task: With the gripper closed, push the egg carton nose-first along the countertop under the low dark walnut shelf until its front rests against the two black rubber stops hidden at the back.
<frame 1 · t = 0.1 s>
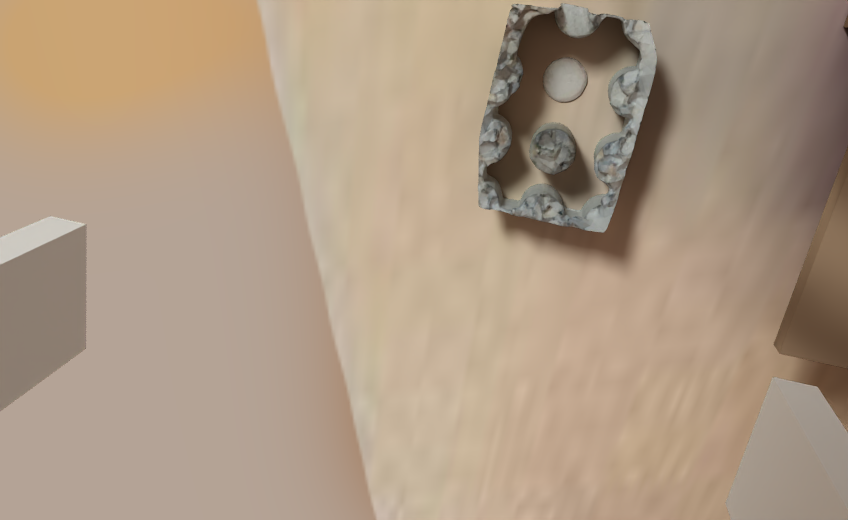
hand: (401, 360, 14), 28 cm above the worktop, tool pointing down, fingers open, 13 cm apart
egg carton: (562, 111, 40), on the worktop
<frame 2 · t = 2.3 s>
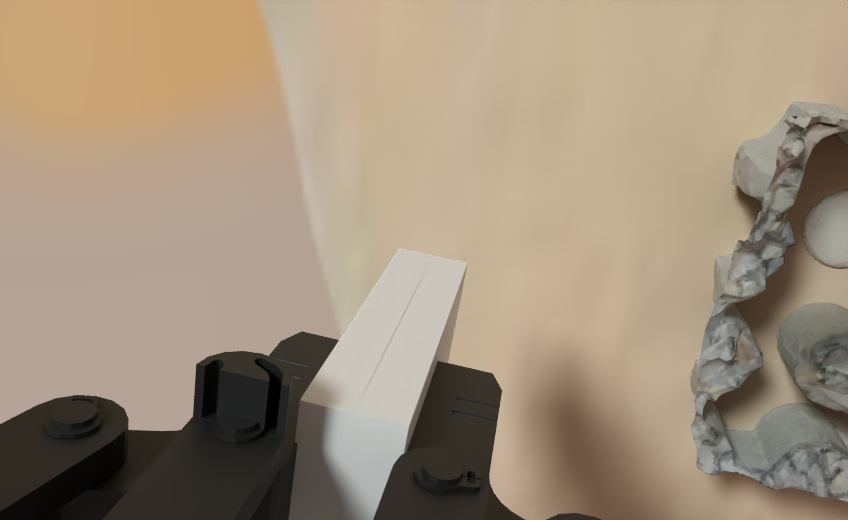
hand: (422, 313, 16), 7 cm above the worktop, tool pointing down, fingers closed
egg carton: (833, 280, 22), on the worktop
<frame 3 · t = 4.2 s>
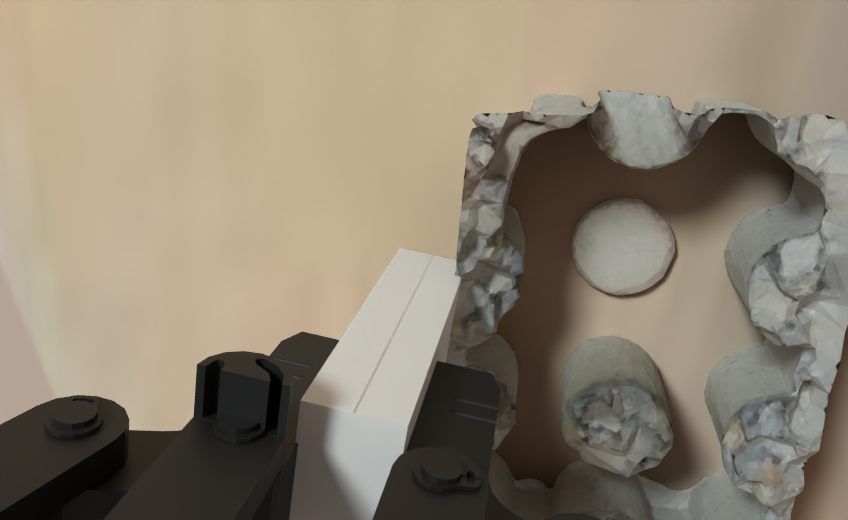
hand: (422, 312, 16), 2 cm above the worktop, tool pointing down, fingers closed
egg carton: (623, 309, 18), on the worktop, touching gripper
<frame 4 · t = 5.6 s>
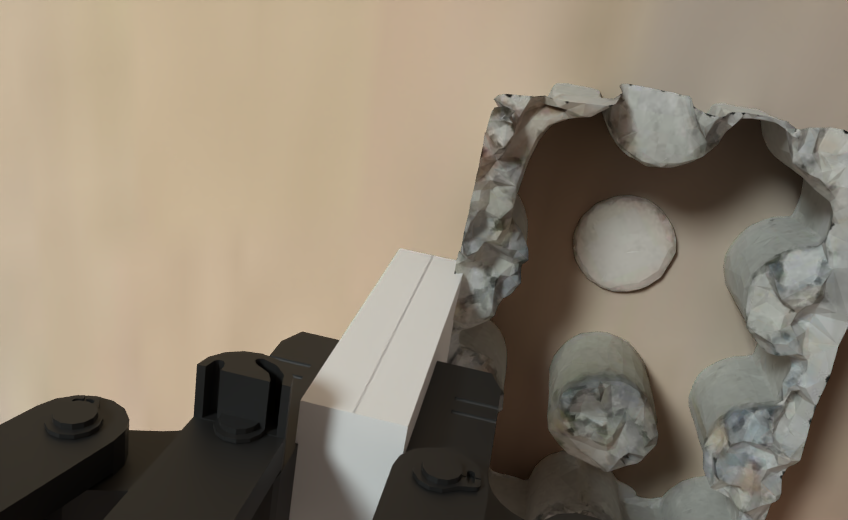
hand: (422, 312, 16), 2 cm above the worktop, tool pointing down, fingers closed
egg carton: (616, 306, 18), on the worktop, touching gripper
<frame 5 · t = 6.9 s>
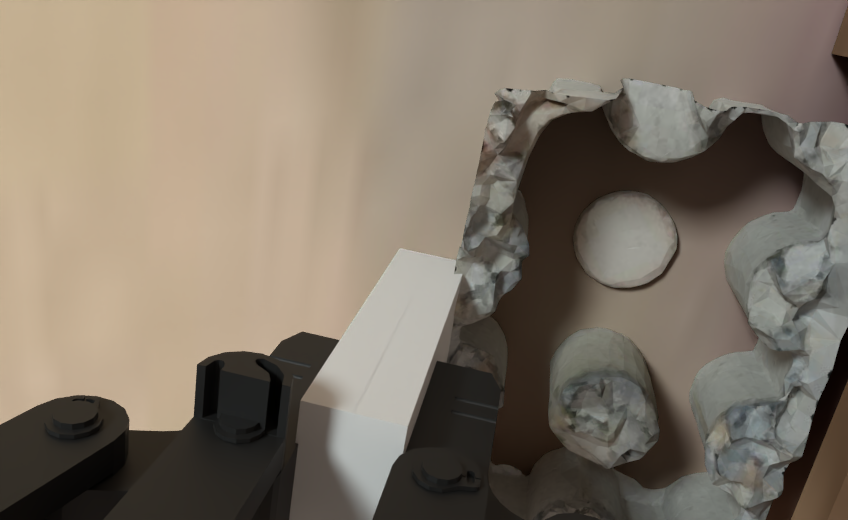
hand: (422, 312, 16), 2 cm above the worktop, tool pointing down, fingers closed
egg carton: (617, 302, 18), on the worktop, touching gripper
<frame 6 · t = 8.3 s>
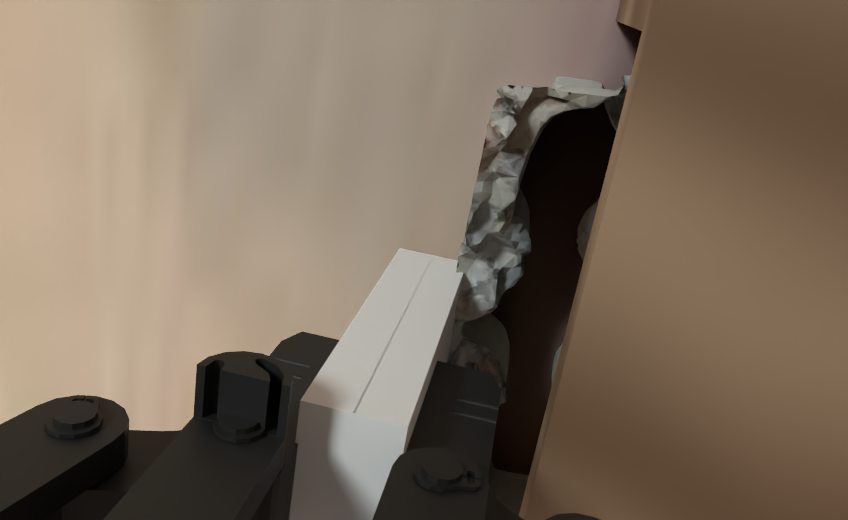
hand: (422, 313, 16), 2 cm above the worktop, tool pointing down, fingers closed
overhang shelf: (696, 336, 17), on the worktop
egg carton: (619, 299, 18), on the worktop
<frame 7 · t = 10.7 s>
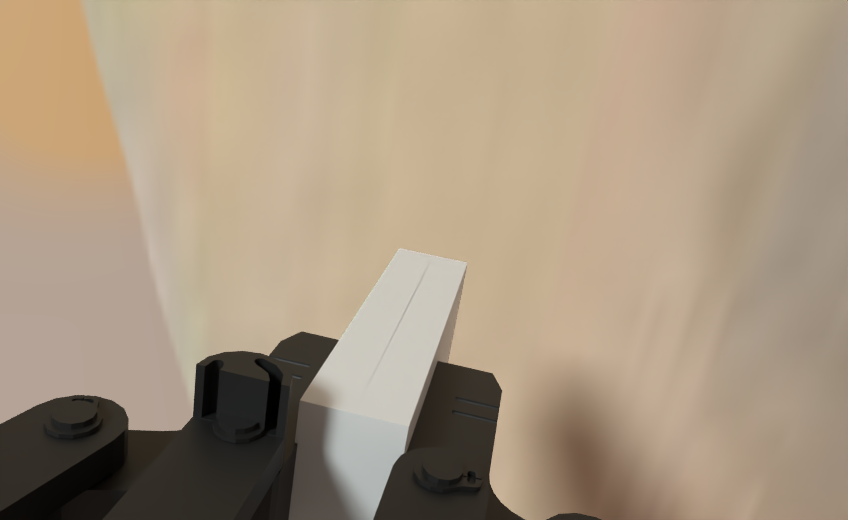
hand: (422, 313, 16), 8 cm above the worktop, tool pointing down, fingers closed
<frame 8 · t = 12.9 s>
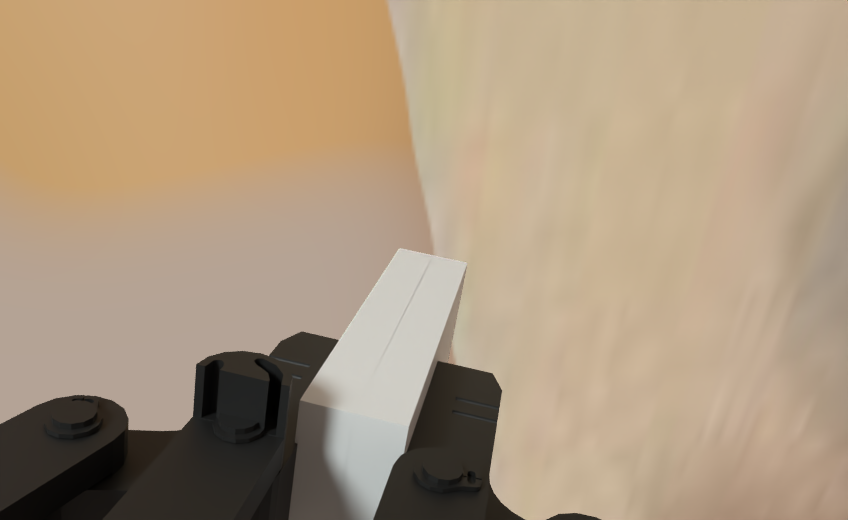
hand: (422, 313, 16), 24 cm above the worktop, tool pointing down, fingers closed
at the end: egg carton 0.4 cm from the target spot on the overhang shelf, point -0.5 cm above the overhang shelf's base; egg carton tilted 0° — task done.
